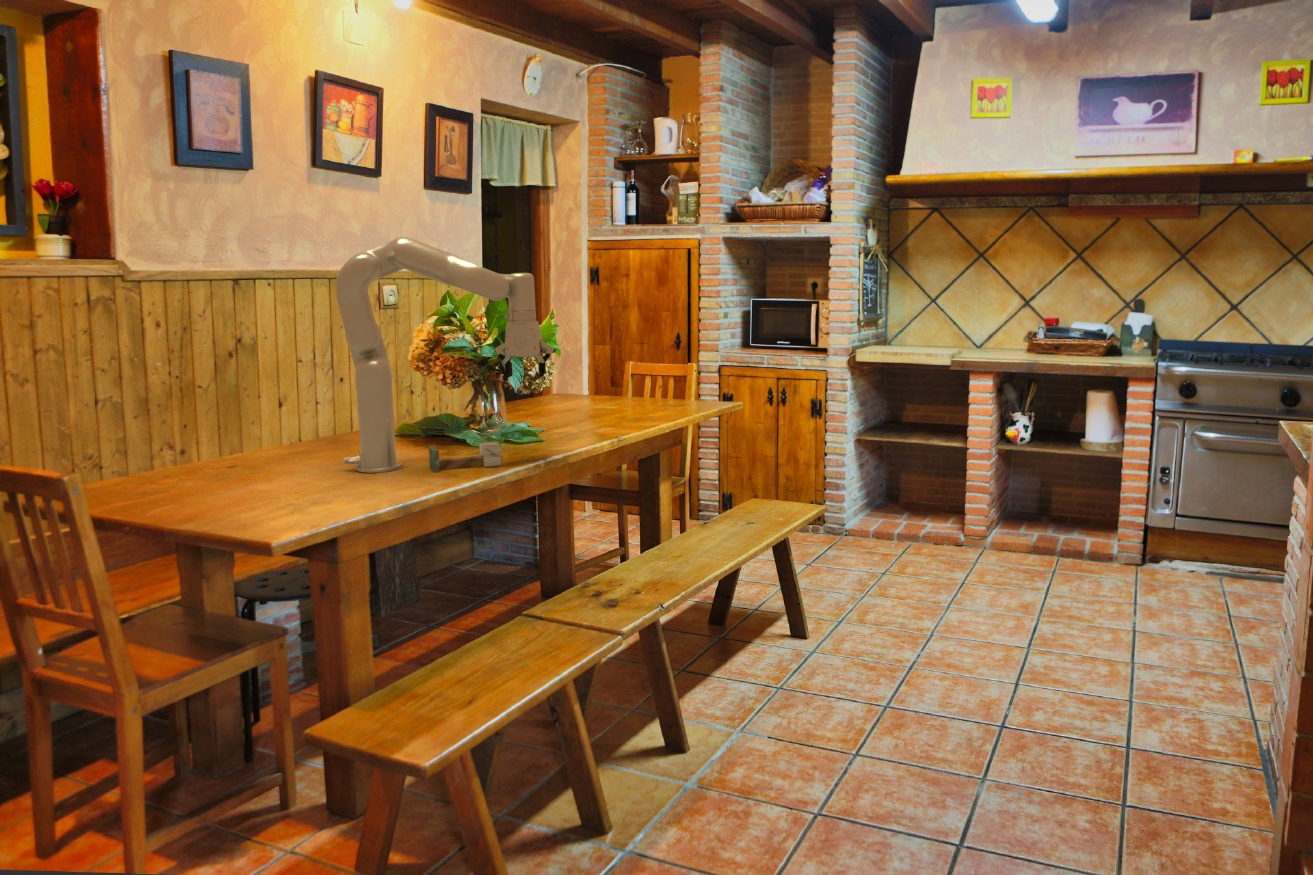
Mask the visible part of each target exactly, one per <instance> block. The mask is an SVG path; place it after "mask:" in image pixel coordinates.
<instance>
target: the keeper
mask: <svg viewBox="0 0 1313 875" xmlns="http://www.w3.org/2000/svg"><path fill="white" fill-rule="evenodd" d="M478 453H479V455H478V456H482V457H483V466H482V467H484V468H486V467H499V466H503V459H502V460H501V456H502V445H501V444H500V443H499V442H498V441H495V440H494V441H485V442H483V441H482V442H478Z"/></svg>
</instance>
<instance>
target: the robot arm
mask: <svg viewBox="0 0 1313 875" xmlns="http://www.w3.org/2000/svg"><path fill="white" fill-rule="evenodd" d="M403 270H405V271H409V272H411V273H414V274H416V275H420V276H423V277H425V278H427V279H430V280H433V281H435V282H438V283H441V284H443V285H446V286H451V287H455V288H458V289H461V290H465V291H467V292H470V293H472V294H475V295H478V296H480V297H483V298H485V299H488V300H490V301H493V302H494V301H495V302H497V301H498V302H499V301H502V300H504V299H507V300H508V311H507V312H505V313H504V318H506V319H508V321H507V322H506V325H505V334H504V342H503V343H501V344H499V345H498V346H496V347H495V348H494V351H495V352H496V354H497V356H498V358H499V359H500V360H501V361H502V362H503V364H504V373H505V375H506V378H510V377H512V376H513V375H514V373H513V363H512V362H511V361H512V359H513V358H532V357H533V358H534V357H535V358H536V359H537V360H538V377H540V378H543V377H545V374H546V373H547V371H546V369H547V366H546V362H547V361H548V360H549V359H550V358H551V356H552V353H554V350H555V347H554V346H553V345H551V344H549V343H547V342H545V341H543V339H542V338H543V336H542V331H541V327H540V323H539V321H538V320H537V313H536V312H537V311H536V310H537V309H536V293H535V279H534V278H535V277H534V275H533V274H532V273H529V272H514V273H510V274H509V273H507V274H506V273H498V272H496V271H492V270H490V269H488V268H485V267H482V266H479V265H477V264H475V263H473V262H469V261H467V260H465V259H463V258H461V257H459V256H457V255H455V254H453V253H450V252H448V251H445V250H442V249H440V248H436V247H435V246H431V245H428V244H426V243H424V242H421V241H419V240H417V239H413V238H411V237H408V236H399V237H396V238H395V239H393V240H390V241H388V242H386V243H383V244H381V245H378V246H376V247H373V248H371V249H368V250H364V251H361V252H358V253H355V254H354V255H353V256H352V257H350V258H349V259H348V260H347V261H346V262H345V263H344V264H343V265H342V266H341V268H340V270H339V272H338V274H337V276H336V279H335V280H336V281H335V296H336V302H337V305H338V306H337V307H338V309H339V310H338V311H339V314H340V318H341V320H342V322H341V323H342V324H343V325H342V326H343V330H344V335H345V341H346V343H347V345H348V348H349V350H350V354H351V357H352V361H353V366H354V368H355V373H354V374H355V376H354V377H355V378H354V379H355V390H356V403H357V405H356V406H357V416H358V430H359V431H358V432H359V450H360V452H358V454H357V455H355V456H344V457H343V464H344V465H348V464H349V465H356V466H355V471H357V472H360V473H365V474H367V473H368V474H371V473H373V474H377V473H378V474H379V473H388V472H393V471H398V470H400V469H402V468H403V463H402V462H401V461H398V460H397V453H396V451H397V450H396V436H395V434H396V433H395V419H394V416H395V414H394V403H393V402H394V400H393V376H392V368H391V365H390V361H389V360H390V359H389V357H388V353H387V350H386V346H385V343H384V339H383V335H382V332H381V331H382V330H381V329H380V326H379V324H378V322H376V319H375V315H374V311H373V307H372V304H371V299H370V295H369V287H370V284H372V283H373V282H375V281H378V280H379V279H382V278H385V277H388V276H389V275H390V276H391V275H393V274H394V273H398V272H399V271H403ZM543 348H544V349H546V350H547V351H546V353H545V355H544V353H543V350H544V349H543ZM503 350H504V352H505V354H504V353H503Z"/></svg>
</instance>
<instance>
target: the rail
mask: <svg viewBox="0 0 1313 875" xmlns="http://www.w3.org/2000/svg"><path fill="white" fill-rule="evenodd" d="M428 456H429V468H430V469H431V470H432V472H433V473H440V471H444V470H454V469H455V470H456V469H466V468H467V469H469V468H478V467H484V466H483V457H482V456H479V455H476V456H475V455H474V456H463V457H462V456H461V457H449V458H448V457H447V458H440V453H439V449H438V448H437V447H436V446H435V445H429V446H428ZM501 460H502V461H503V457H502V455H501Z"/></svg>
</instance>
